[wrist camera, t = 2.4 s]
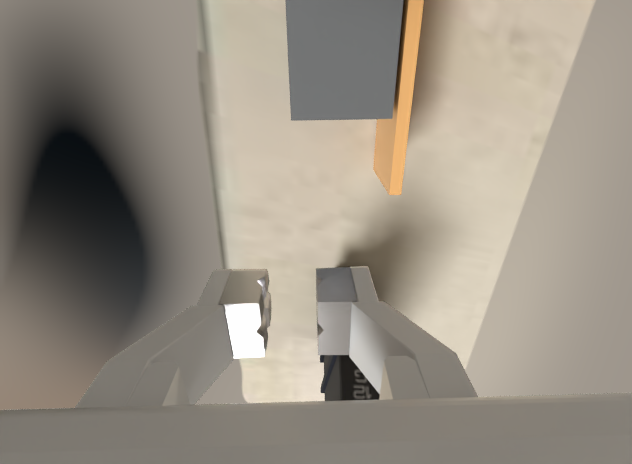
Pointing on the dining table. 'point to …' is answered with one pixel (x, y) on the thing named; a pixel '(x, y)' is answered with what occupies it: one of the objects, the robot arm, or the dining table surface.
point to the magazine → (345, 380)
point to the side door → (399, 104)
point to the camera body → (343, 58)
